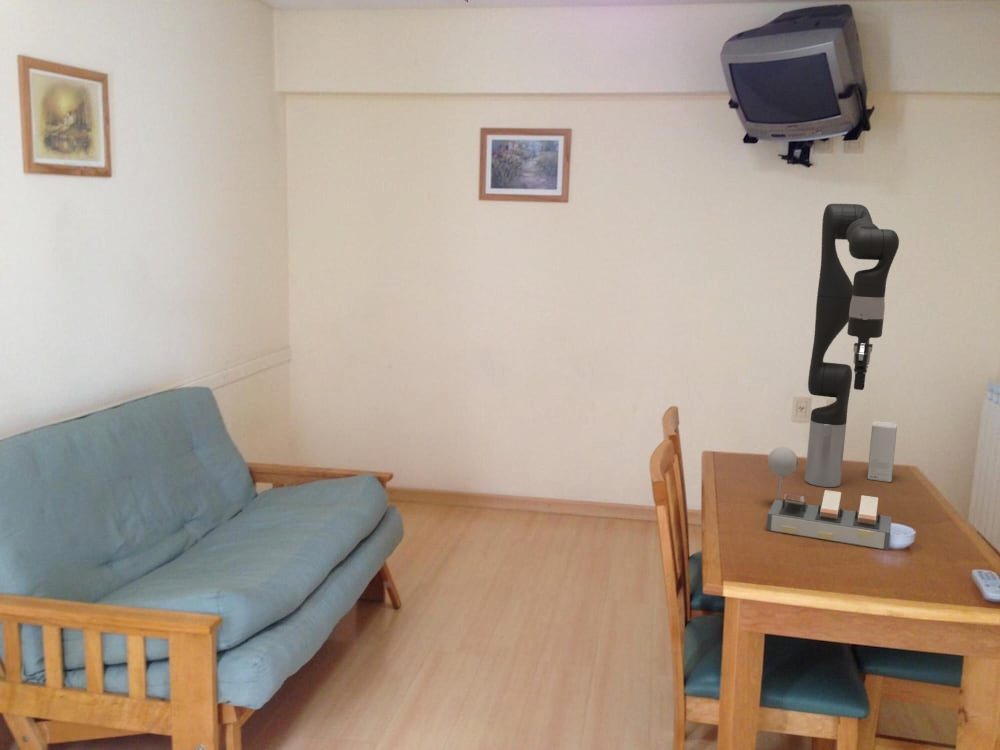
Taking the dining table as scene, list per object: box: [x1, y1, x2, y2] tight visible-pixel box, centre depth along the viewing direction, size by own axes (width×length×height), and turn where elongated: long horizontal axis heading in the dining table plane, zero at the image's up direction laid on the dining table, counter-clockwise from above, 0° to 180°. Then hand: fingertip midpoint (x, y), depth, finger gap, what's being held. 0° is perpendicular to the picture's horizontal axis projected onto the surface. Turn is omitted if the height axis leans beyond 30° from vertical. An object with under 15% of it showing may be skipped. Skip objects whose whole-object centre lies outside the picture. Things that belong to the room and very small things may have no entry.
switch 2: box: [820, 489, 842, 519], centre depth 208 cm, size 9×4×1 cm, turn 155°
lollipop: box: [767, 446, 799, 501], centre depth 226 cm, size 7×7×15 cm
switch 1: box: [784, 493, 805, 504], centre depth 211 cm, size 9×4×1 cm, turn 156°
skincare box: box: [867, 420, 898, 483], centre depth 254 cm, size 8×7×16 cm
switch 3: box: [858, 494, 879, 524], centre depth 204 cm, size 9×4×1 cm, turn 155°
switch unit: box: [766, 498, 892, 551], centre depth 208 cm, size 12×26×6 cm, turn 66°
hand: (858, 389), depth 213 cm, fingers closed
